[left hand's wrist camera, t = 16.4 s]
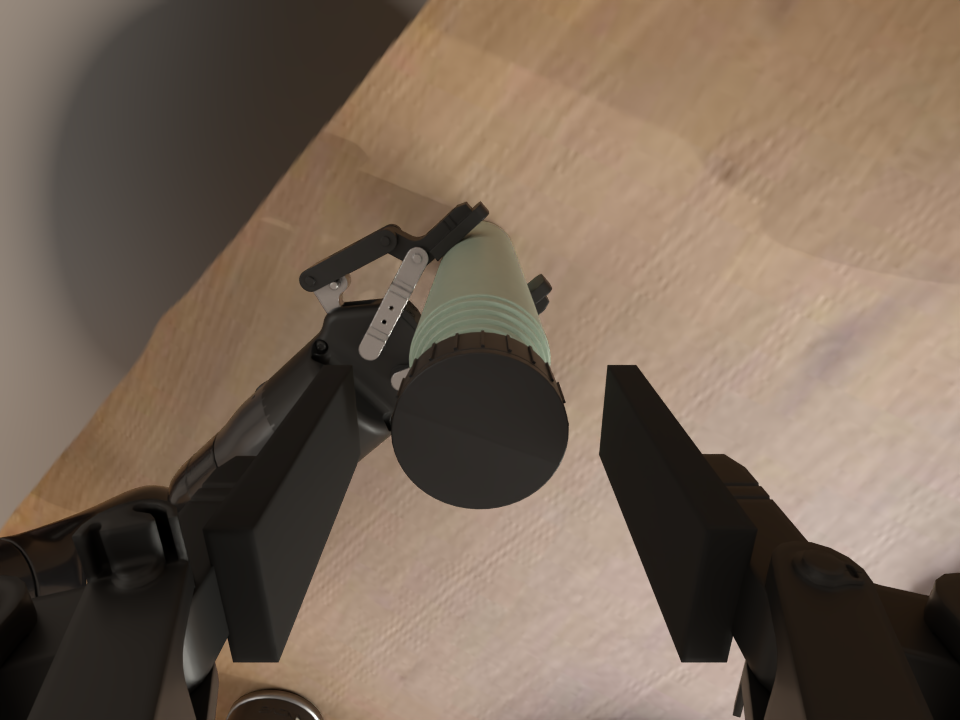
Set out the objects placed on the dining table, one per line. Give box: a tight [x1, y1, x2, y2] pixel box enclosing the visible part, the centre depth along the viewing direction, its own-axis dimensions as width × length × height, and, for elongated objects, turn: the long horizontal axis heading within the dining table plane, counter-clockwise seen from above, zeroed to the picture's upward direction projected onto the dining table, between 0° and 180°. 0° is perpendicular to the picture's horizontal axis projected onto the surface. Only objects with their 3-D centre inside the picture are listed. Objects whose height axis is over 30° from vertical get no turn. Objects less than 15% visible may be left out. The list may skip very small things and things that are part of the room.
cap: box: [391, 330, 569, 509], centre depth 14 cm, size 4×4×2 cm
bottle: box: [409, 221, 551, 368], centre depth 25 cm, size 5×5×24 cm
